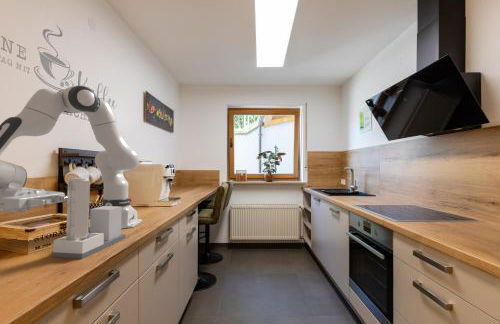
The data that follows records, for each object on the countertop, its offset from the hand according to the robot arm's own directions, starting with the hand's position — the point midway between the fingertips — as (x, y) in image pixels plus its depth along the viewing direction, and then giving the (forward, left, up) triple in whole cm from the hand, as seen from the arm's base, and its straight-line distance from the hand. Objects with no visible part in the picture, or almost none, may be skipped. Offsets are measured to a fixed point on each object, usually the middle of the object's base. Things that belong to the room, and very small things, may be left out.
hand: (56, 200), depth 91 cm
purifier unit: (-7, +9, -18) cm, 21 cm away
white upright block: (+1, +9, -17) cm, 19 cm away
